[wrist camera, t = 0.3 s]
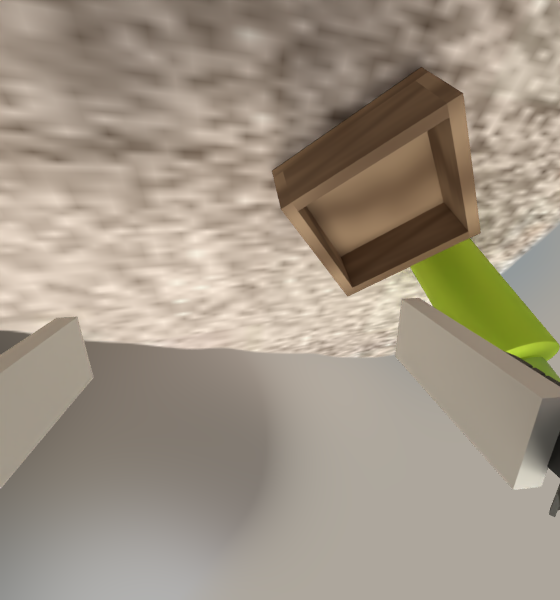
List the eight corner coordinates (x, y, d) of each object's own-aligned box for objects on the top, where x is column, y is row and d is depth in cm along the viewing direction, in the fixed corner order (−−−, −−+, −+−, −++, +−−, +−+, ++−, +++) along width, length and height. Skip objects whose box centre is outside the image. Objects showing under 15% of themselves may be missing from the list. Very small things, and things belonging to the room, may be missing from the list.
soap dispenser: (486, 233, 31) (680, 445, 18) (428, 277, 35) (552, 475, 22) (455, 208, 28) (660, 440, 15) (396, 259, 32) (516, 476, 19)
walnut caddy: (272, 171, 23) (280, 209, 20) (421, 67, 19) (463, 93, 16) (333, 258, 30) (347, 296, 27) (448, 197, 27) (480, 232, 23)
